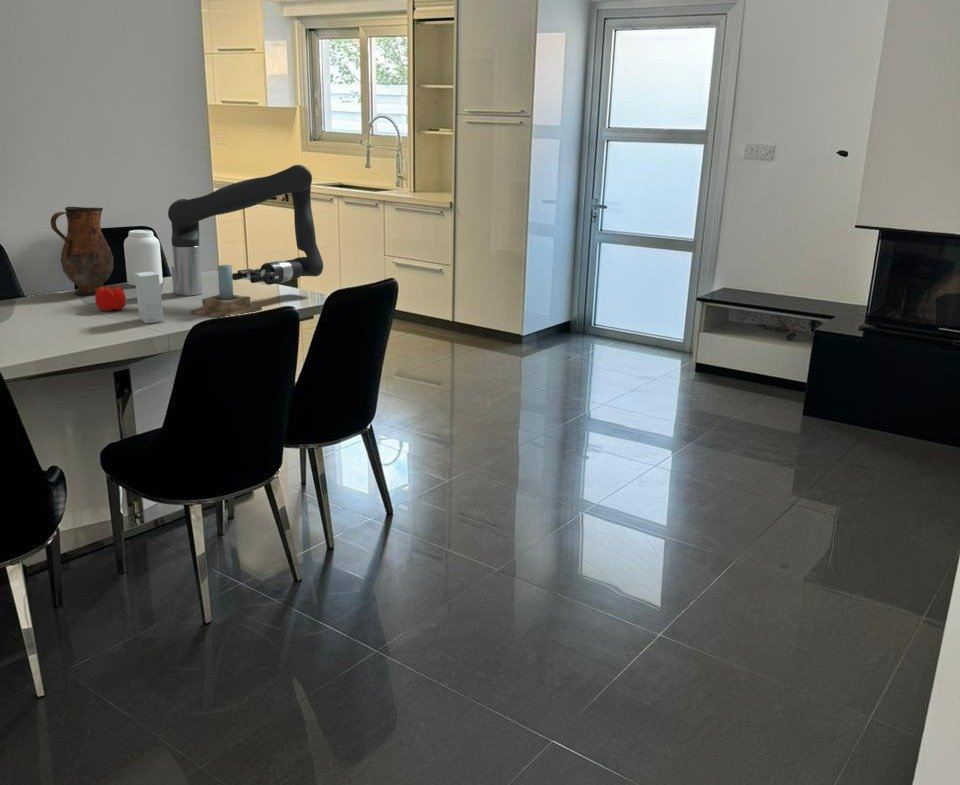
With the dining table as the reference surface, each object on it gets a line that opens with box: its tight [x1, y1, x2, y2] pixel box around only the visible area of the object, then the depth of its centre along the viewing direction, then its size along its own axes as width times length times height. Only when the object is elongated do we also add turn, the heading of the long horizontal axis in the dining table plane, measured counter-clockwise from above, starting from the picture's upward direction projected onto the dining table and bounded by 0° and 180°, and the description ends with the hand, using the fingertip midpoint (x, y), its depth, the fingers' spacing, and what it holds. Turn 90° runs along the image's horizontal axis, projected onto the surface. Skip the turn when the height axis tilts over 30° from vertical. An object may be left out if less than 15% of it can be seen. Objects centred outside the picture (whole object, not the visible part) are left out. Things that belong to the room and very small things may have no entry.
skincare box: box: [134, 272, 165, 324], centre depth 264 cm, size 8×6×15 cm
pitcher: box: [50, 206, 115, 297], centre depth 297 cm, size 17×21×30 cm
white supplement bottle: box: [123, 229, 164, 287], centre depth 320 cm, size 12×12×20 cm
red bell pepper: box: [94, 286, 127, 312], centre depth 278 cm, size 9×9×8 cm
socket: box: [190, 294, 263, 318], centre depth 282 cm, size 16×16×4 cm
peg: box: [217, 264, 234, 300], centre depth 280 cm, size 4×4×14 cm
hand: (242, 278), depth 285 cm, fingers open, 8 cm apart
